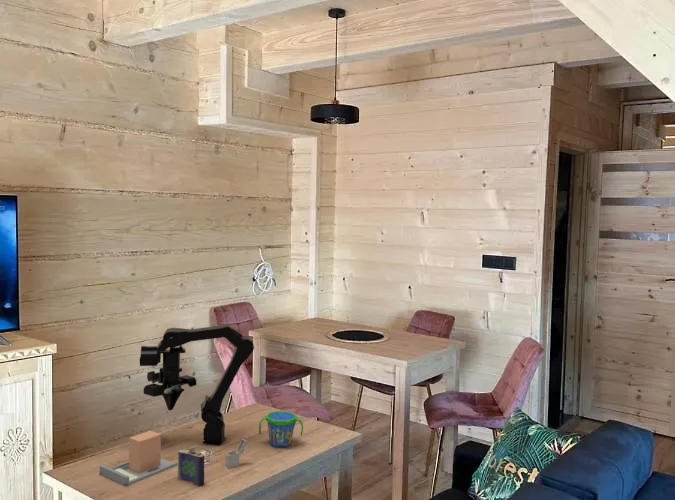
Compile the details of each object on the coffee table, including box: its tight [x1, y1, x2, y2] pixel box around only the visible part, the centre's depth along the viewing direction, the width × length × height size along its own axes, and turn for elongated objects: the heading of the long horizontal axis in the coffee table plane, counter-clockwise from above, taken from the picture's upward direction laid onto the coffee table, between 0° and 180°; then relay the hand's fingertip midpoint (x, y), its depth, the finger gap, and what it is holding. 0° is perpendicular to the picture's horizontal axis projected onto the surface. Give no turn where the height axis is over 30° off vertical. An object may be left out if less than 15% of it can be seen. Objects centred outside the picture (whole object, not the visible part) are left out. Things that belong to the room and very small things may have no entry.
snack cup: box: [258, 410, 304, 448], centre depth 213 cm, size 16×10×10 cm
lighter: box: [225, 438, 249, 470], centre depth 194 cm, size 7×2×8 cm, turn 129°
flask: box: [177, 445, 205, 487], centre depth 181 cm, size 9×3×11 cm, turn 65°
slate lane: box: [99, 458, 178, 487], centre depth 187 cm, size 19×13×3 cm
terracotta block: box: [128, 430, 162, 474], centre depth 189 cm, size 8×5×10 cm, turn 145°
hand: (170, 409), depth 209 cm, fingers closed
